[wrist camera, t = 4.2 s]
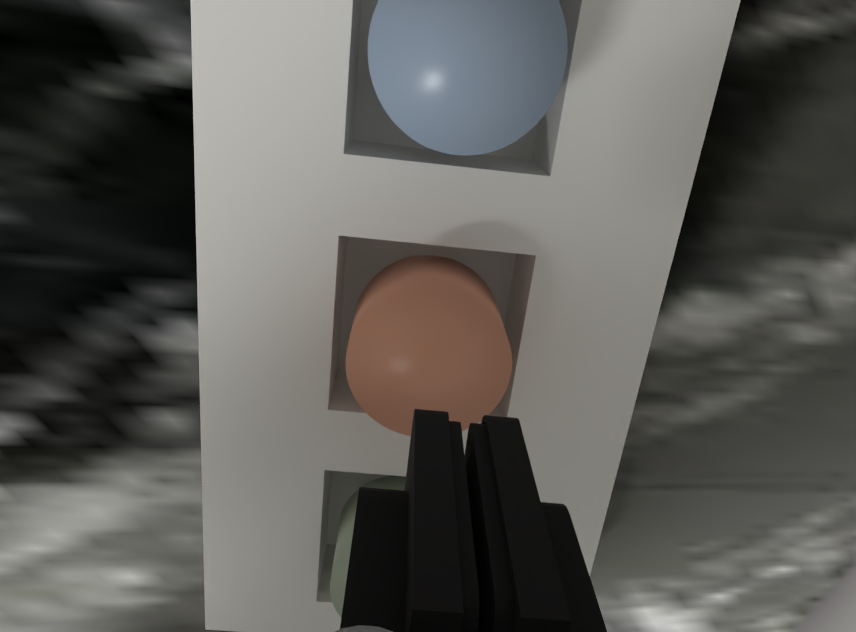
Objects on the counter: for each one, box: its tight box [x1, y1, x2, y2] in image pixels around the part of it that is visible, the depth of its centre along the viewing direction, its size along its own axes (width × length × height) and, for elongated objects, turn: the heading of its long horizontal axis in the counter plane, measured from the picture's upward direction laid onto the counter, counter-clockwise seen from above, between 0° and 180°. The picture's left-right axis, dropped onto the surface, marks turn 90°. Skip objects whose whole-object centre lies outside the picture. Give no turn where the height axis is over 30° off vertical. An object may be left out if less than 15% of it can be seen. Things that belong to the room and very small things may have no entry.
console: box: [191, 0, 740, 632], centre depth 19 cm, size 22×12×3 cm, turn 174°
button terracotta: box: [346, 255, 512, 436], centre depth 17 cm, size 4×4×3 cm
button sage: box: [330, 475, 406, 617], centre depth 19 cm, size 4×4×3 cm
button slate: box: [368, 0, 568, 156], centre depth 14 cm, size 4×4×3 cm
